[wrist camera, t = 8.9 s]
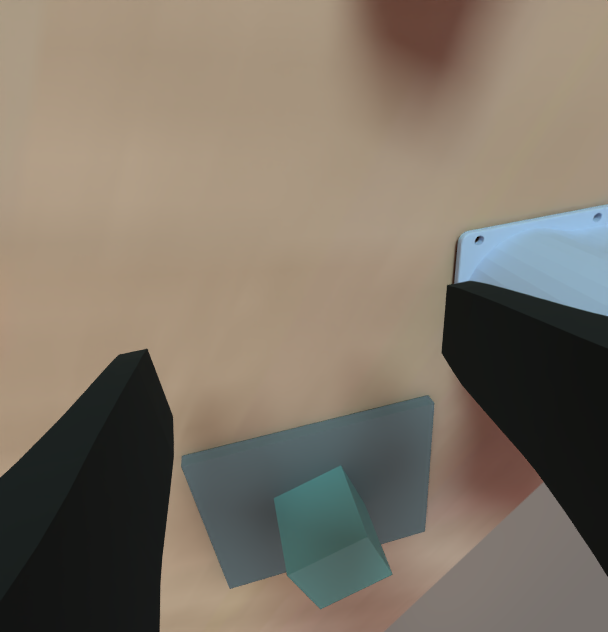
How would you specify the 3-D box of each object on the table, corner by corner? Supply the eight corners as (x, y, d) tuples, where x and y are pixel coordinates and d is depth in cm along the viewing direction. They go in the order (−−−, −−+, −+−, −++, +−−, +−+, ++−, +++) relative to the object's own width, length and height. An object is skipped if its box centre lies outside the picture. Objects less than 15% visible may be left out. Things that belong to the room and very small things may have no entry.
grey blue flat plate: (428, 395, 26) (434, 403, 26) (420, 522, 33) (424, 531, 33) (181, 455, 24) (181, 466, 23) (229, 578, 31) (229, 588, 31)
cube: (340, 465, 27) (367, 536, 22) (364, 503, 29) (392, 574, 25) (273, 498, 27) (287, 575, 22) (303, 533, 29) (320, 609, 25)
